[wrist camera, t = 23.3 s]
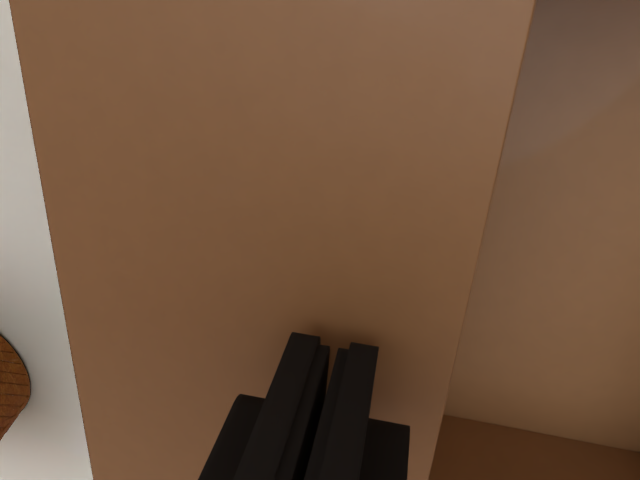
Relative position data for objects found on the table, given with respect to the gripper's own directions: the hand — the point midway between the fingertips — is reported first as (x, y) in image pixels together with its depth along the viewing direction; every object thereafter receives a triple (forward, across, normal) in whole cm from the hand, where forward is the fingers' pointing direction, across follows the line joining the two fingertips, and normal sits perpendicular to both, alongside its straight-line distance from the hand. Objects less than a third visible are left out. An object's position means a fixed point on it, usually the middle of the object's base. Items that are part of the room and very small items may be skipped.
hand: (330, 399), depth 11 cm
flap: (+1, +2, 0) cm, 2 cm away
